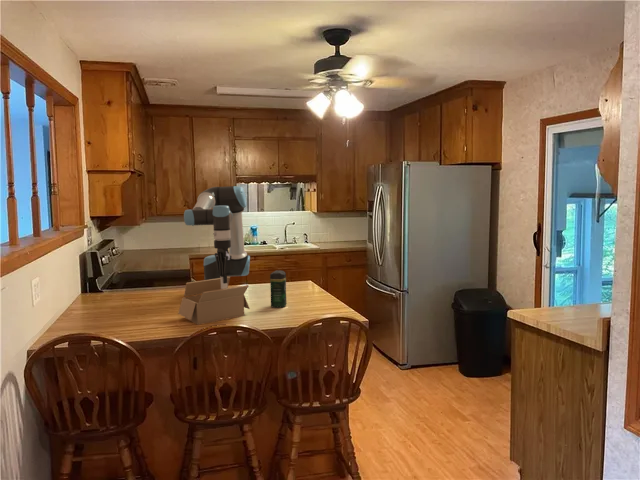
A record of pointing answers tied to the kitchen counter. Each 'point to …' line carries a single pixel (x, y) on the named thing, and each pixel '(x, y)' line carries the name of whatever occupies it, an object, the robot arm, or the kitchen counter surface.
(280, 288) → the coffee jar
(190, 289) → the flap
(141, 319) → the kitchen counter surface
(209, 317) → the carton
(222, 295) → the flap
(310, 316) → the kitchen counter surface
